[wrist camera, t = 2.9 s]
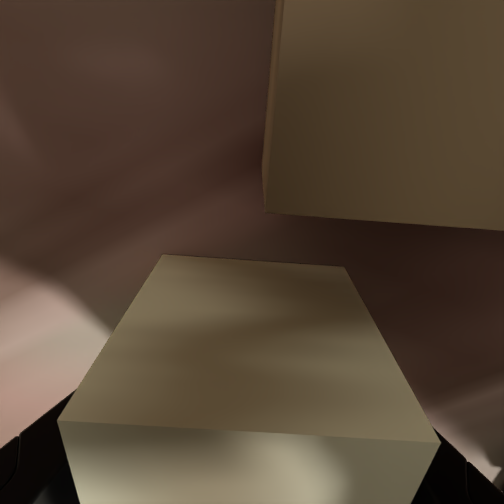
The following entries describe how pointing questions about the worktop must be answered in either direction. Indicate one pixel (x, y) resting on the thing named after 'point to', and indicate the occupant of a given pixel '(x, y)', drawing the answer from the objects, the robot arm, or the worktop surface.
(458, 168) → the walnut block
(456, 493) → the robot arm
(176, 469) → the maple cube
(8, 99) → the worktop surface
